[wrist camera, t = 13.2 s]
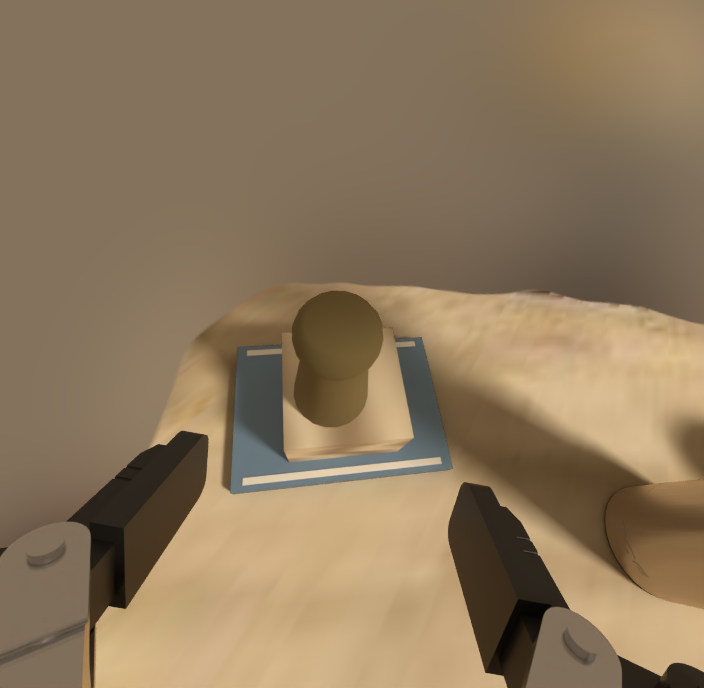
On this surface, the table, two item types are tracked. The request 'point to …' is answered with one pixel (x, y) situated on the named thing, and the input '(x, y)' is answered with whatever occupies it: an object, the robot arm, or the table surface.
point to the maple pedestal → (364, 431)
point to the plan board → (277, 473)
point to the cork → (334, 356)
